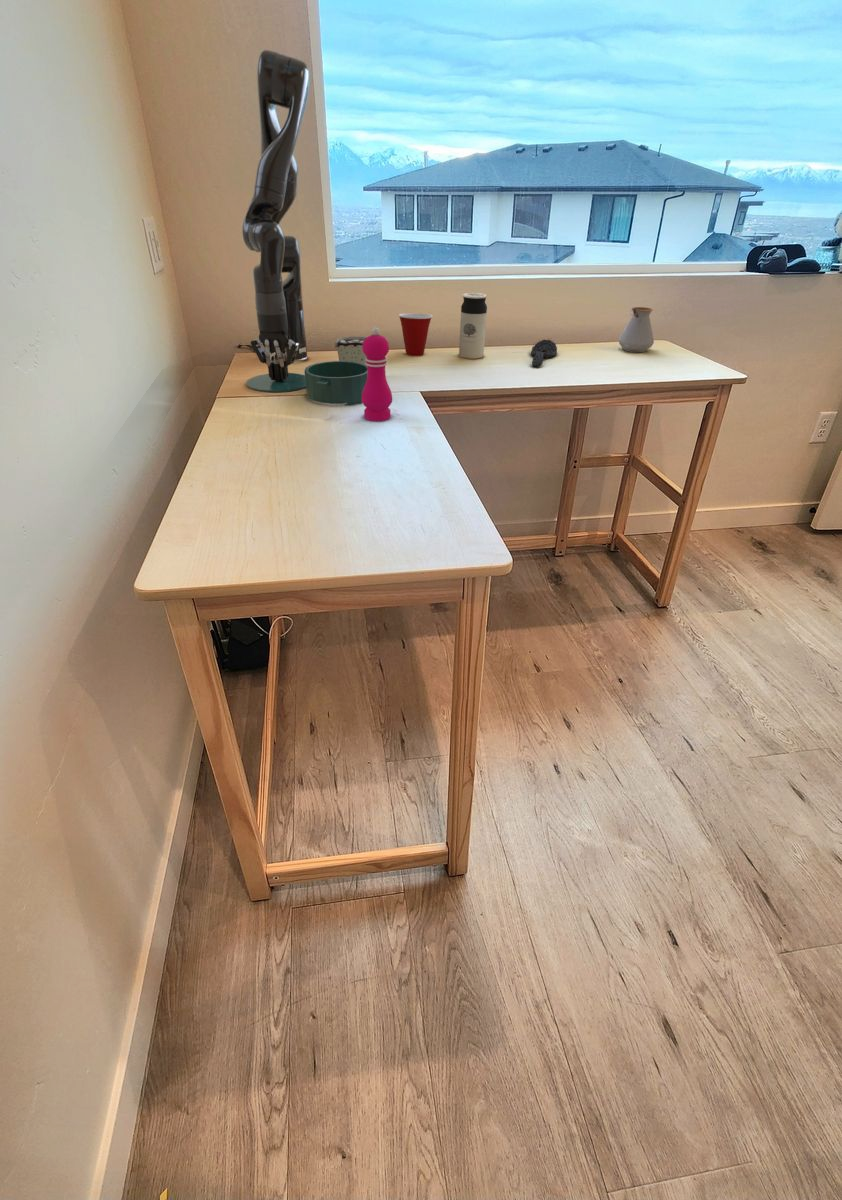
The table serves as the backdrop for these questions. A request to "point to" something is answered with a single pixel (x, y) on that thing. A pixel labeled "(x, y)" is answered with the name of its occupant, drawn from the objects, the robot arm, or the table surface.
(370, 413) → the pepper mill
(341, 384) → the pot
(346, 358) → the food container
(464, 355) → the travel mug
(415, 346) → the plastic cup
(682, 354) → the table surface
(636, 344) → the coffee pot
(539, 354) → the hairbrush
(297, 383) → the pot lid
